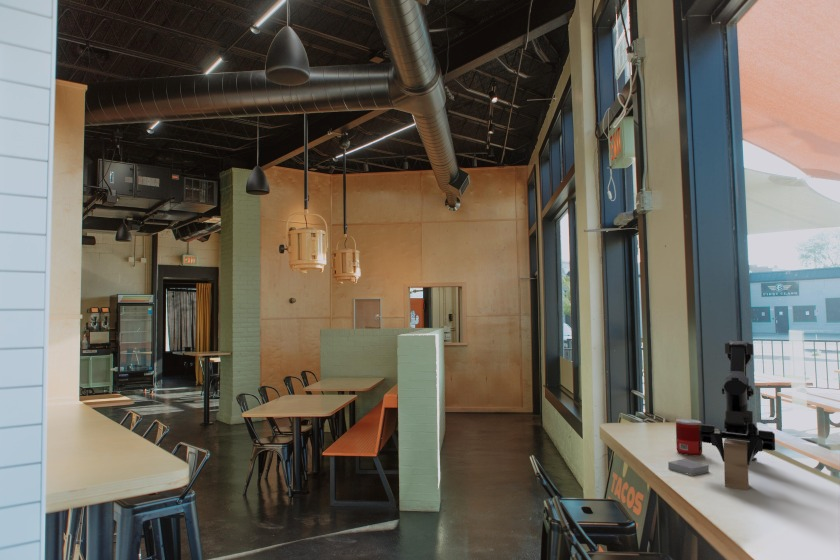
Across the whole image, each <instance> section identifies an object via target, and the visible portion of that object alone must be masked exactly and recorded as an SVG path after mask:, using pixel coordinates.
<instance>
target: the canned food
mask: <svg viewBox="0 0 840 560" xmlns="http://www.w3.org/2000/svg"><path fill="white" fill-rule="evenodd" d="M702 424H703V423H702V421H700V420H698V419H691V418H676V419H675V432H676V433H675V435H676V436H675V437H676V441H675V442H676V444H675V445H676V452H677V453H679V454H680V453H681V454H680V455H684V454H686V456H691V455H698V456H701V455H702V454H703V442H702V441H701V439H700V433H699V426H700V425H702Z"/></svg>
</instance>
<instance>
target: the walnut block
mask: <svg viewBox="0 0 840 560" xmlns="http://www.w3.org/2000/svg"><path fill="white" fill-rule="evenodd" d="M723 447H724V462H723V465H724V467H723V468H724V469H723V470H724V472H723V473H724V487H726V488H727V487H728V488H731V487H732V488H733V489H738V490H745V491H749V465H747V456H748V448H747V441H738V440H729V439H725V438H724V441H723ZM732 488H731V489H732Z"/></svg>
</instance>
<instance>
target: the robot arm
mask: <svg viewBox="0 0 840 560" xmlns="http://www.w3.org/2000/svg"><path fill="white" fill-rule="evenodd" d="M724 354H725V355H727V359H728V361H729V363H730V369H729V371H730V372H729V374H728V375H726V376H725V382H724V383H723V384H722V385H721V386H722V387H721V392H722V393H721V394H722V396H724V400H725V412H724V413H725V415H724V416H725V417H724V424H723V426H724V427H723V429H724V430H721V429H719V428H716V426H715V425H714V424H713V425H712V424H703V423H702V425H700V426H699V433H700V439H701V441H702V443H707V444H711V446H713V447H716V449H717V451H718V453H719V455H720V457H721V460H722V462H723V463H724V441H723V439H724V440H725V439H729V440H738V441H747V448H748V456H747V465H748V466H750V464H751V462H753V461H757V460H758V458H757V457H755V456H756V455H757V454H758V452H763V450H764V451H771V452H772V451H775V450H776V439H775V438H776V437H775V432H773V431H771V430H762V429H760V430H759V428H758V427H757V425H756V423H754V414H753V413H754V412H753V411H752V410H749V404H748V401H750V398H752V397H753V395H754V394H755V389H754V388H753V387H752V385H750V383H749V377H748V376H747V368H748V366H749V365H750V363H751V361H752V356H754V344H752V343H750V341H749V340H729V341H728V342H726V343H724Z"/></svg>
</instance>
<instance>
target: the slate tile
mask: <svg viewBox="0 0 840 560" xmlns="http://www.w3.org/2000/svg"><path fill="white" fill-rule="evenodd" d="M667 462H668V466H667V467H668V470H672V471H674V470H675V472H678V471H680V472H679V473H681V472H683V473H682V474H685V473H688V474H691V475H690V476H692V475H693V476H696V475H695V474H698V475H701V474H700V473H702V474H707V473H709V472H710V471H709V469H710V468H709V466H710V465H709V464H706V463H704V462H703V463H702V462H699V461H695V460H690V459H688V458H681V459H678V460H677V459H676V460H672V461H667ZM688 474H687V475H688Z"/></svg>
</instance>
